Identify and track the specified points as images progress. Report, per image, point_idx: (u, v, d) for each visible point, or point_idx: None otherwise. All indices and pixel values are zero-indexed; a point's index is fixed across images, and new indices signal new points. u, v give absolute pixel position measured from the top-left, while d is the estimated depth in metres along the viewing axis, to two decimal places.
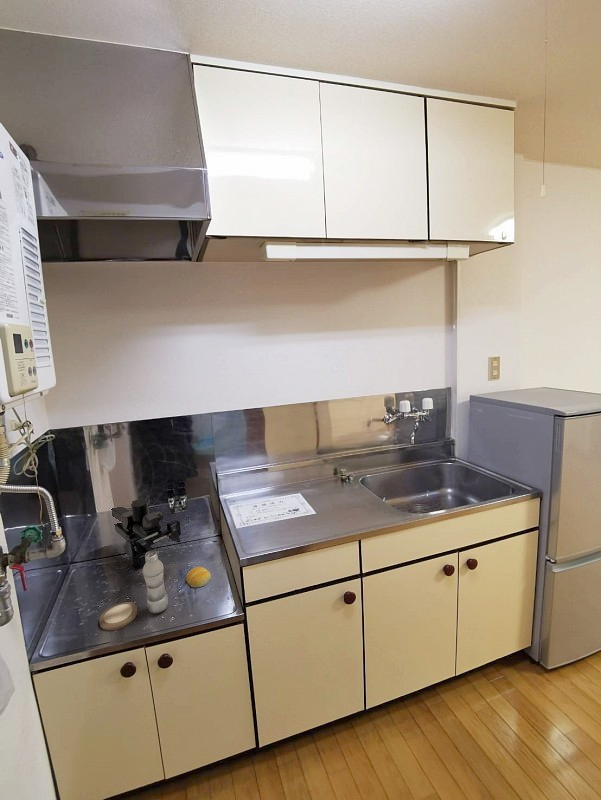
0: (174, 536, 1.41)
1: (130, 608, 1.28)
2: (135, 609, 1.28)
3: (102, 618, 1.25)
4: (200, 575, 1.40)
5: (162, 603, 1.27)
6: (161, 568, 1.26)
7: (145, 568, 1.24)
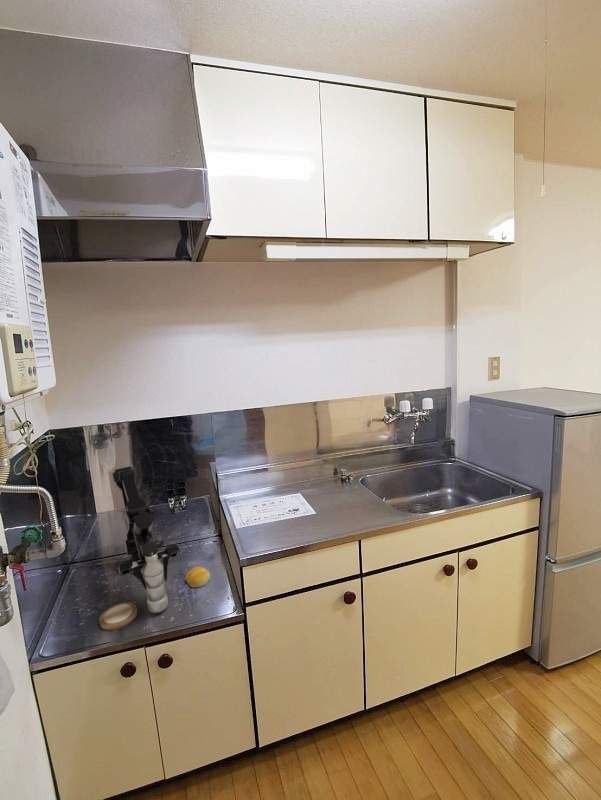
0: (163, 569, 1.30)
1: (130, 608, 1.28)
2: (135, 609, 1.28)
3: (102, 618, 1.25)
4: (200, 575, 1.40)
5: (162, 603, 1.27)
6: (161, 568, 1.26)
7: (145, 568, 1.24)
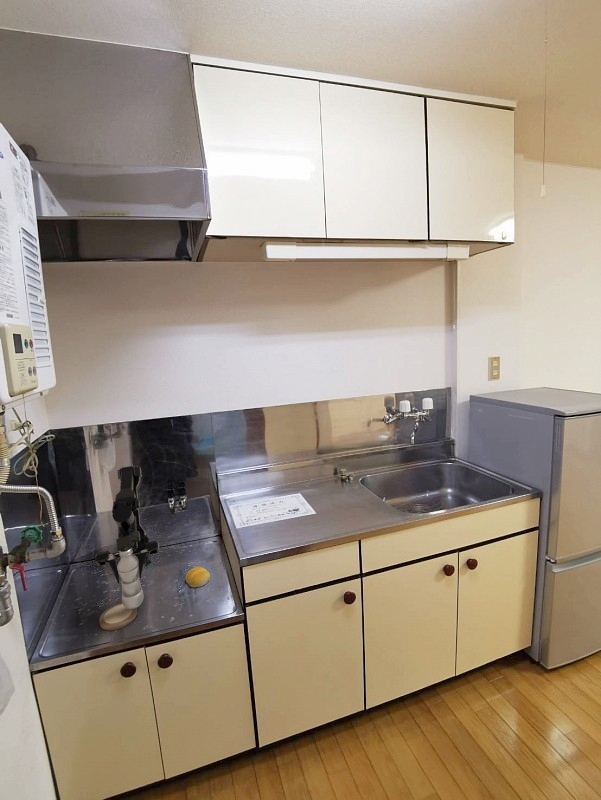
0: (139, 566, 1.26)
1: None
2: (135, 609, 1.28)
3: (102, 618, 1.25)
4: (200, 575, 1.40)
5: (135, 600, 1.23)
6: (134, 564, 1.22)
7: (118, 562, 1.22)
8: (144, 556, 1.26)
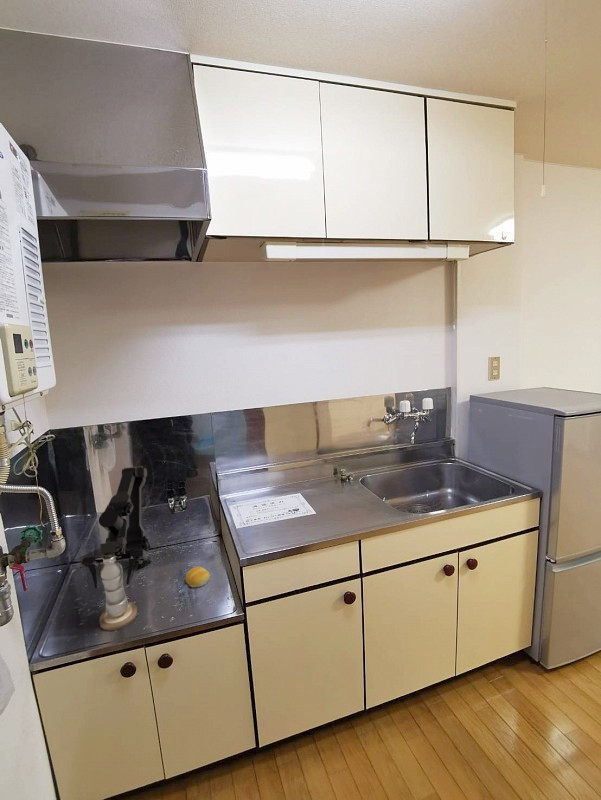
0: None
1: (130, 608, 1.28)
2: (135, 609, 1.28)
3: (102, 618, 1.25)
4: (199, 575, 1.40)
5: (117, 608, 1.23)
6: (116, 573, 1.22)
7: (101, 570, 1.22)
8: (133, 562, 1.25)
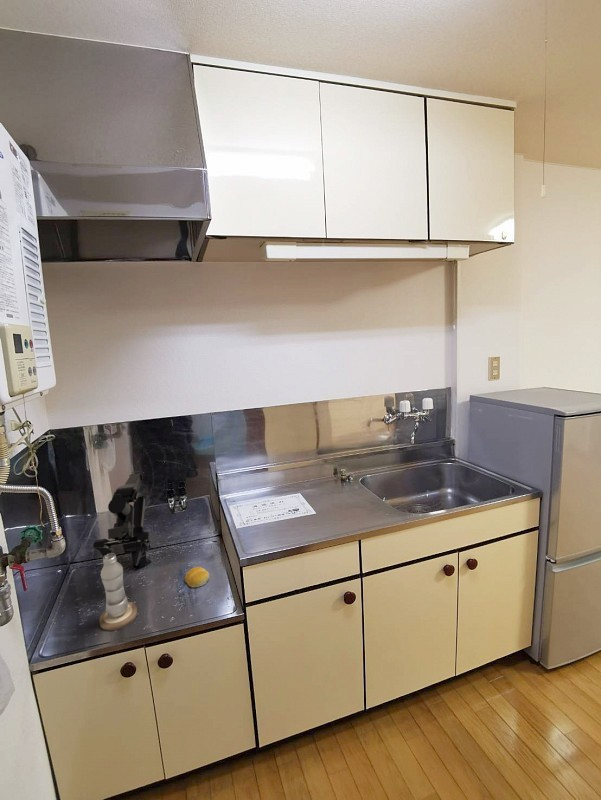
0: None
1: (130, 608, 1.28)
2: (135, 609, 1.28)
3: (102, 618, 1.25)
4: (199, 575, 1.40)
5: (117, 608, 1.23)
6: (116, 573, 1.22)
7: (102, 570, 1.22)
8: (140, 545, 1.34)
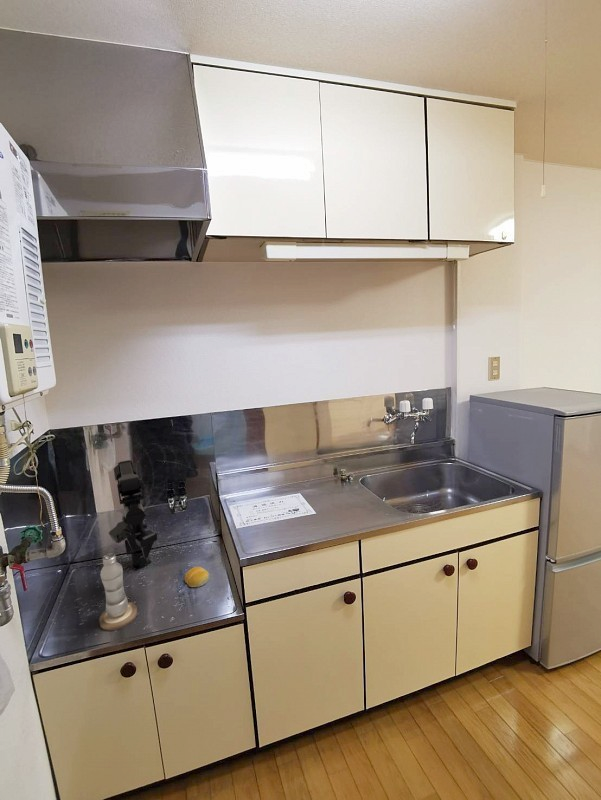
0: None
1: (130, 608, 1.28)
2: (135, 609, 1.28)
3: (102, 618, 1.25)
4: (199, 575, 1.40)
5: (117, 608, 1.23)
6: (116, 573, 1.22)
7: (101, 570, 1.22)
8: (141, 547, 1.32)
